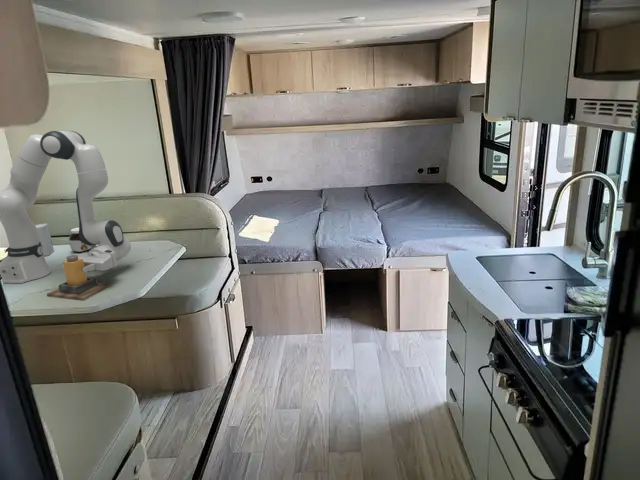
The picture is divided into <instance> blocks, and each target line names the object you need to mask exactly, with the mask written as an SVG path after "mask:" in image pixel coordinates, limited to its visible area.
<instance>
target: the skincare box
mask: <svg viewBox="0 0 640 480" xmlns="http://www.w3.org/2000/svg"><path fill="white" fill-rule="evenodd" d="M35 226H36V229H37V233H38V238H39V241H40V242H41V245H42V249H43V256H44V257H50V255H51V254H52V253H53V252H55V250H54V244H53V241H52V237H51V233H50V229H49V225H48V223H39V224H35Z"/></svg>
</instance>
